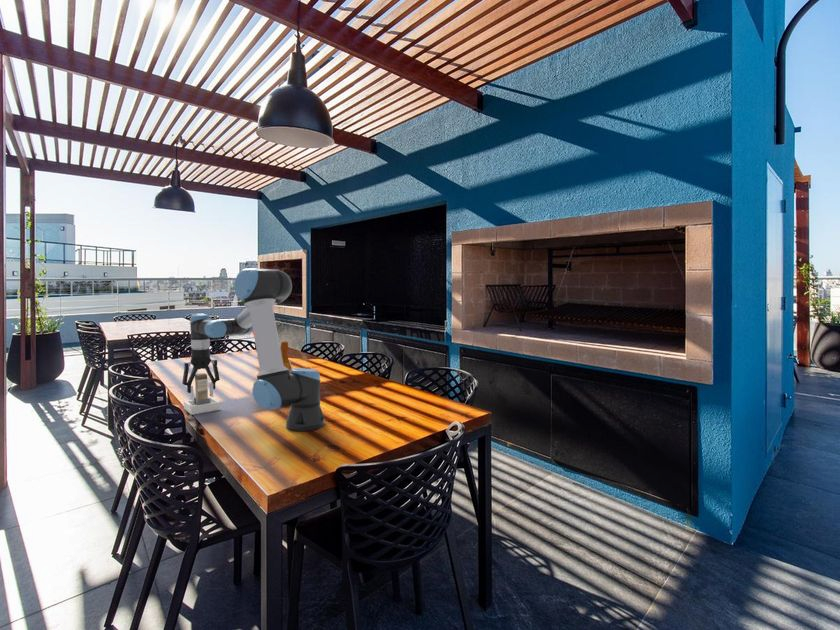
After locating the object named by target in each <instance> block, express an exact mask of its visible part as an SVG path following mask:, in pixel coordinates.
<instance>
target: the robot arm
mask: <svg viewBox="0 0 840 630" xmlns="http://www.w3.org/2000/svg"><path fill="white" fill-rule="evenodd" d="M233 285H234V293H235V296H236V297H237V298H238V299H240V300H242V301H243V306H245V308H244V309H243V310H242V311H241V312H240V313H239V314H238V315H237V316H235V317H234V318H223V319H211V318H210V317H209V314H205V313H197V314H191V315H190V321H189V325H190V348H191V350H190V351H191V353H190V354H191V355H190V357H191V358H190V361H186V362H183V367H184V368H183V369H184V370H183V374H182V382H181V383H182V385H183V386H186V391H187V393H188V394H189V400H194V385H193V384H192V383H193V381H194V380H195V374H197V372H198V370H201V369H203V370H205V371H206V372H205V373H206V374H207V377H208V378H209V379H210V382H209V397H213V398H214V390H216V383H217V382H218V381H220V380H221V379H220V375H219V373H220V372H219V368H218V360H217V359H215V358H213V359H212V358H211V349H210V347H211V344H210V338H212V339H216V338H217V339H218V338H222V337H228V336H238V335H239V336H240V335H247V334H251V333H253V337H254V343H255V348H256V354H257V359H258V360H257V361H258V366H259V371H258V373H257V375H256V381H255V382H254V383H253V385H252V389H251V391H252V396H253V399H254V401H255V403H256V404H257V405H258V406H259V407H260V408H261V409H263V410H265V411H266V410H267V411H269V410H276V409H280V408H282V407H286V406H290V407H289V408H290V409H289V411H288V414H287V417H286V421H285V428H287V429H288V430H291V431H296V432H308V431H314V430H317V429H320V428H322V427H324V425H325V423H326V422H325V419H326V418H325V416H324V414H323V411H322V410H323V409H322V408H321V375H320V371H318V370H316V369H311V368H302V367H301V368H298V367H295V368H292V369H291V370H290V374H289V370H288V369H287V368H286V367H284V365H283V360H282V351H281V342H280V337H279V333H278V329H277V322H276V317H275V312H274V307H275V306H276V305H277V304H281V303H283V302H284V301H285V300H286V299H288V297H289V296H290V295H291V293H292V289H293V282H292V279H291V278H290V276H289V275H288V274H287V273H286V272H285V271H283V270H280V269H277V268H276V269H274V268H273V269H272V268H271V269H270V268H256V267H252V268H243V269H242V270H240V271H239V273H237V275H236V278H235V279H234V284H233ZM210 363H211V364H212V370H213V373H214V374H213V373H212V371H211V369H210V366H209V365H210ZM191 365H192V370H191V372H190V375H189V369H190V367H191Z"/></svg>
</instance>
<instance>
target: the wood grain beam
mask: <svg viewBox="0 0 840 630" xmlns="http://www.w3.org/2000/svg"><path fill="white" fill-rule="evenodd" d="M194 381H195V382H194V383H195V385H194V386H195V398H196V405H198V400H204V399H208V397H209V395H208V394H209V392H208V374H207V373H206V372H205V373H202V372H201V373H196V374H195V377H194Z"/></svg>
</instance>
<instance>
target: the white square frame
mask: <svg viewBox="0 0 840 630" xmlns="http://www.w3.org/2000/svg"><path fill="white" fill-rule="evenodd" d="M183 409H184V411H186V412H187V413H189V415H191V416H192V415H193V416H194V415H198V414H204V413H209V412H214V411H220V410H221V401H219V399H216V398H215V397H214V396H213V397H211V396H208V399H204V400H198V405H196V397H193V400H190V399H188V400H184V401H183Z"/></svg>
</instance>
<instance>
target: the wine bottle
mask: <svg viewBox="0 0 840 630" xmlns="http://www.w3.org/2000/svg"><path fill="white" fill-rule="evenodd" d="M280 349H281V354H282V360H283V365H284V367H286V368H287V369H288V370H289V374H290V370H291V369H293V365H292V363H291V360H290V359H289V355H288V351H289V342H288V341H281V342H280Z"/></svg>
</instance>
